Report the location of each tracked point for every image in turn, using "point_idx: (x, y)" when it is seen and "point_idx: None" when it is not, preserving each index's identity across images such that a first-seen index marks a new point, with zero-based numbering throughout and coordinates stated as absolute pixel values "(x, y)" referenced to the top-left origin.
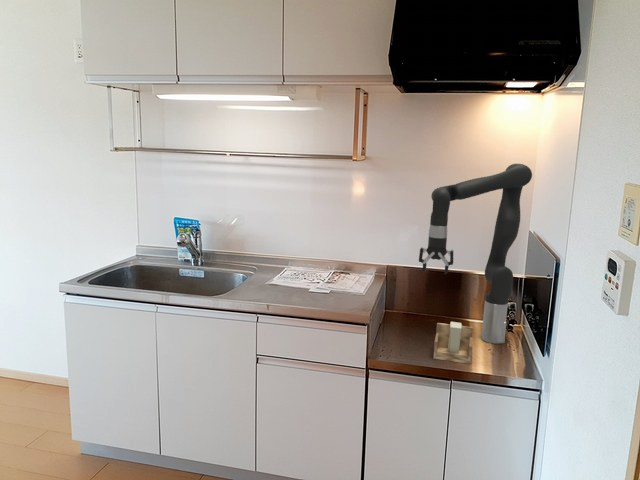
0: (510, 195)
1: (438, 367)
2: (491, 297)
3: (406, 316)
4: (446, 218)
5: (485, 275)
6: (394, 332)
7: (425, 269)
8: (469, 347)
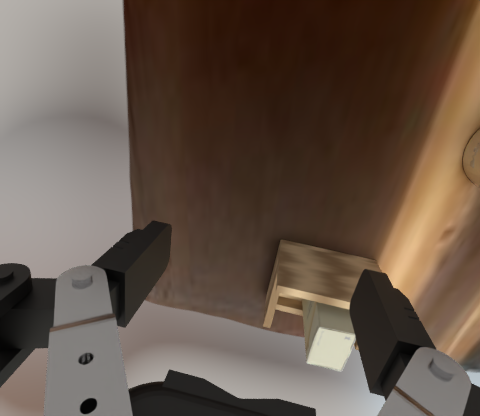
0: None
1: (272, 329)
2: None
3: None
4: None
5: None
6: (167, 141)
7: (152, 282)
8: (355, 347)
